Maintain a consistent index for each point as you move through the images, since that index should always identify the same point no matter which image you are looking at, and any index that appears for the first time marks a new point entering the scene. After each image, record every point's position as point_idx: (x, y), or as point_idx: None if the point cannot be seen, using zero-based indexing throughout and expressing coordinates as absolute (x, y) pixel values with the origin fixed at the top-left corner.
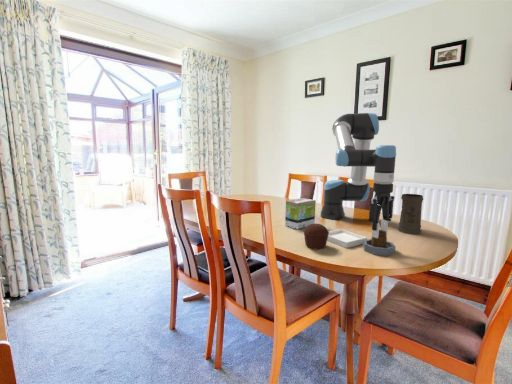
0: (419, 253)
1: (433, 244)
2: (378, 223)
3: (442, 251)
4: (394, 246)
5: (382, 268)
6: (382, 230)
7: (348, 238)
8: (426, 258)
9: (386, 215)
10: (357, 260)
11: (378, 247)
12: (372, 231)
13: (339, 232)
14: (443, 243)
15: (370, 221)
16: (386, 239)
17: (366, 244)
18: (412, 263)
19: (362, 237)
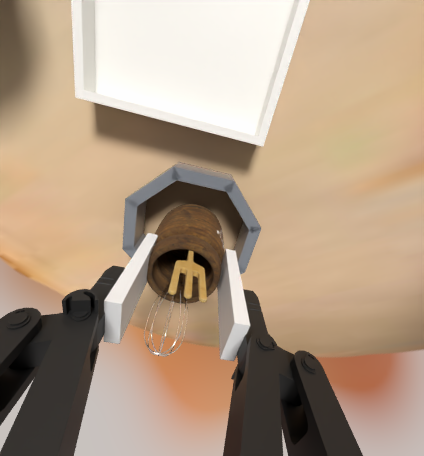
0: None
1: (382, 321)
2: (104, 341)
3: (321, 346)
4: None
5: (55, 289)
6: (214, 280)
7: (218, 27)
8: None
9: (231, 414)
10: (27, 214)
11: None
12: (136, 252)
13: None
14: (408, 335)
15: (76, 293)
16: (192, 281)
17: (130, 204)
18: (164, 324)
19: (263, 113)
